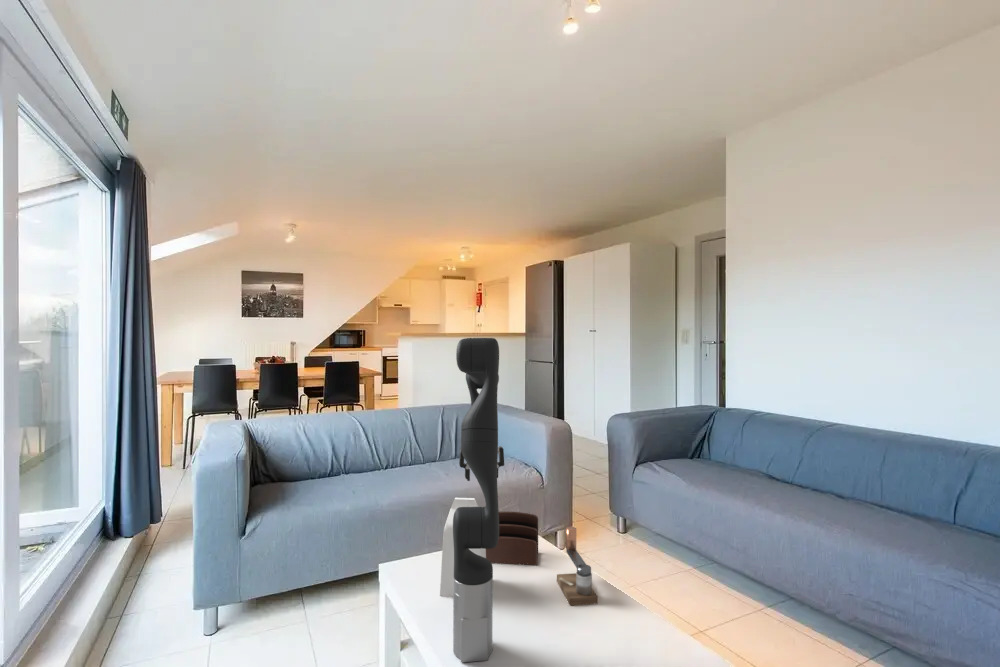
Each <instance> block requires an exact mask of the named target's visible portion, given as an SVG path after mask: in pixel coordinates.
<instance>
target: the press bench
mask: <svg viewBox="0 0 1000 667" xmlns="http://www.w3.org/2000/svg"><path fill="white" fill-rule="evenodd" d="M592 581H593V573H592V572H591V575H589V576H581V575H579V574H577V571H576V573H575V572H574V573H573V572H572V573H558V574H556V582H557V585H558V586H559V588H560V590H561V592H562V594H563V595H564V598H565V600H566V599H567V600H566V602H567V601H568V602H567V604H568V605H569V606H581V605H582V606H583V604H584V605H594V603H598V602H599V601H598V597H599V596H598V595H597V593H596V592H595V590H594V588H593V584H592V583H593V582H592Z"/></svg>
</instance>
